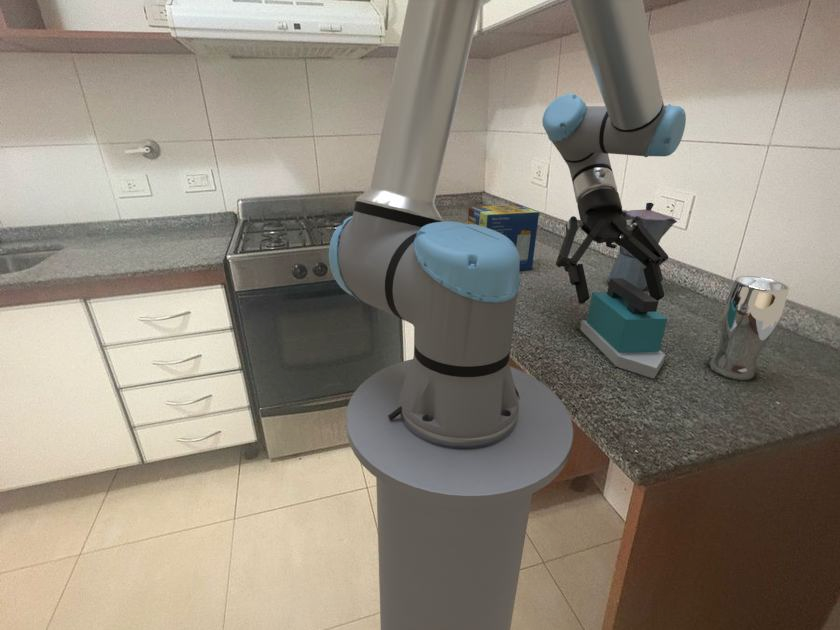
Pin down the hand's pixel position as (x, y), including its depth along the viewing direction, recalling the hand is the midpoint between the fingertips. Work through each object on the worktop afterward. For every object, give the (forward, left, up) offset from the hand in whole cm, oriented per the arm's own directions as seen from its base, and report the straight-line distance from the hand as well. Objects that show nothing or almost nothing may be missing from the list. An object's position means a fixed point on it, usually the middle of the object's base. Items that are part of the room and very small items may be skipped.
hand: (621, 300), depth 77 cm
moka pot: (+19, +28, -8) cm, 35 cm away
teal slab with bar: (0, -4, -8) cm, 9 cm away
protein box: (-8, +45, -8) cm, 46 cm away
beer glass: (+14, -12, -8) cm, 20 cm away
